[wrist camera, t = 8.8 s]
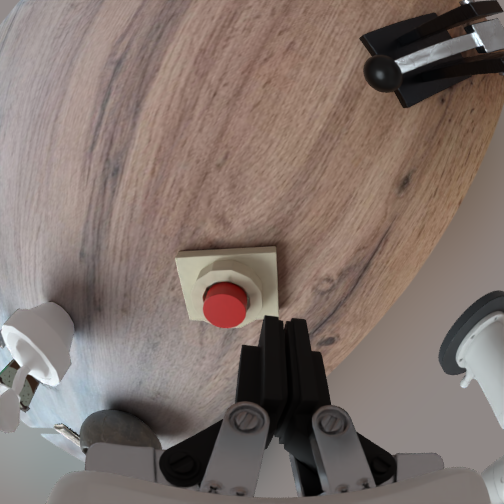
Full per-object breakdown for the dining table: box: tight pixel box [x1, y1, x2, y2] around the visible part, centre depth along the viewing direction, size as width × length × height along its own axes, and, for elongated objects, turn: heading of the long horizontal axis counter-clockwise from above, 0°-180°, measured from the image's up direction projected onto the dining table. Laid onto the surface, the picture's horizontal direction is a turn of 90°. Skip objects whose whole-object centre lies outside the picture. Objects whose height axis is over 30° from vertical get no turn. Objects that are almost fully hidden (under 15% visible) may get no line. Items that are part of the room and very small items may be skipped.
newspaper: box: [53, 424, 80, 446], centre depth 61 cm, size 23×12×2 cm, turn 33°
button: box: [203, 282, 247, 328], centre depth 25 cm, size 4×4×2 cm
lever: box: [363, 18, 504, 93], centre depth 11 cm, size 13×3×3 cm
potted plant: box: [0, 302, 75, 433], centre depth 22 cm, size 13×12×25 cm
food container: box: [0, 359, 39, 413], centre depth 40 cm, size 12×6×10 cm, turn 16°
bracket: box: [359, 0, 504, 108], centre depth 12 cm, size 11×8×13 cm
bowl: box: [80, 410, 162, 454], centre depth 40 cm, size 18×18×13 cm
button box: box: [175, 246, 279, 328], centre depth 28 cm, size 10×8×4 cm
